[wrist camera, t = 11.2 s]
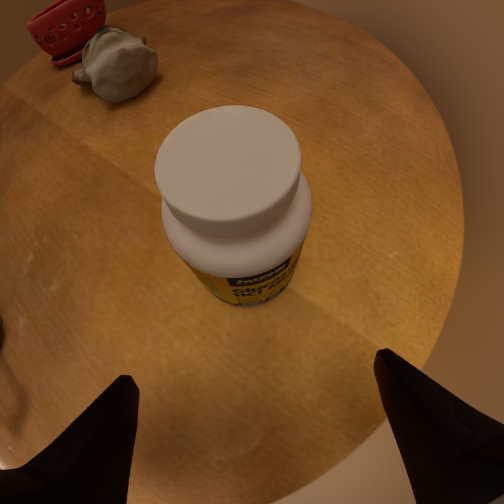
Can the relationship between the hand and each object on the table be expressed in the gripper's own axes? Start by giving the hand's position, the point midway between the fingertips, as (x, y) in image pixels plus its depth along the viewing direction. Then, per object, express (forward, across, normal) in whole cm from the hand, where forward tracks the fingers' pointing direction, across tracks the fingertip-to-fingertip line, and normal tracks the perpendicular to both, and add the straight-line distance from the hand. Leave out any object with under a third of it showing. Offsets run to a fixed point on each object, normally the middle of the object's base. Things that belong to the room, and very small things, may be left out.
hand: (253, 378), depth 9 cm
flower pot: (+39, +25, -28) cm, 54 cm away
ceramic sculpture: (+27, +13, -16) cm, 34 cm away
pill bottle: (+10, 0, +1) cm, 10 cm away
